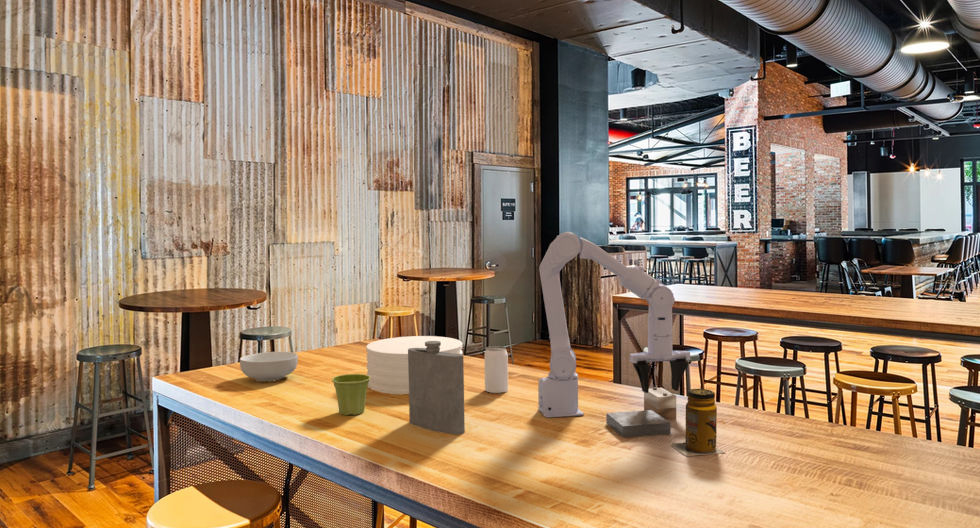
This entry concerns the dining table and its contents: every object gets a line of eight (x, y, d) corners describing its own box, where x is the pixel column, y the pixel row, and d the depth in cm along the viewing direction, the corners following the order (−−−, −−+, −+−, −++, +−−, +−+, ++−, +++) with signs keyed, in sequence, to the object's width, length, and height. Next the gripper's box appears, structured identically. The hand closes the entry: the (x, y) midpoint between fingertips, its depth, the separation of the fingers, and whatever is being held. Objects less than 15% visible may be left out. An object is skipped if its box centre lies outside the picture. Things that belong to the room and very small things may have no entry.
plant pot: (353, 405, 170) (352, 372, 170) (379, 410, 165) (378, 376, 164) (324, 413, 163) (323, 379, 162) (351, 420, 157) (350, 384, 157)
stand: (623, 437, 142) (622, 426, 142) (606, 423, 152) (606, 413, 151) (670, 433, 144) (670, 422, 144) (651, 420, 154) (651, 410, 153)
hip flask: (467, 431, 147) (466, 343, 146) (455, 436, 144) (454, 346, 143) (416, 419, 157) (414, 336, 156) (404, 423, 154) (402, 339, 152)
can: (505, 394, 179) (505, 350, 178) (482, 393, 180) (482, 350, 179) (510, 388, 185) (509, 346, 184) (487, 387, 186) (486, 345, 186)
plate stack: (481, 384, 190) (480, 345, 189) (393, 400, 174) (392, 358, 174) (433, 367, 213) (433, 332, 213) (352, 380, 198) (351, 342, 197)
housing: (658, 420, 154) (658, 395, 154) (643, 411, 162) (644, 387, 161) (676, 419, 155) (676, 394, 154) (661, 409, 163) (661, 386, 162)
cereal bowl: (310, 376, 203) (309, 353, 202) (265, 388, 189) (264, 364, 188) (273, 370, 212) (272, 348, 212) (228, 381, 198) (227, 358, 198)
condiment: (725, 453, 132) (725, 394, 131) (686, 457, 130) (687, 397, 129) (705, 441, 139) (705, 385, 138) (668, 445, 137) (669, 388, 136)
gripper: (638, 339, 152) (638, 397, 153) (696, 336, 154) (696, 393, 155) (626, 334, 159) (626, 389, 160) (682, 331, 161) (682, 385, 162)
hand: (660, 390), depth 158 cm, fingers open, 7 cm apart
